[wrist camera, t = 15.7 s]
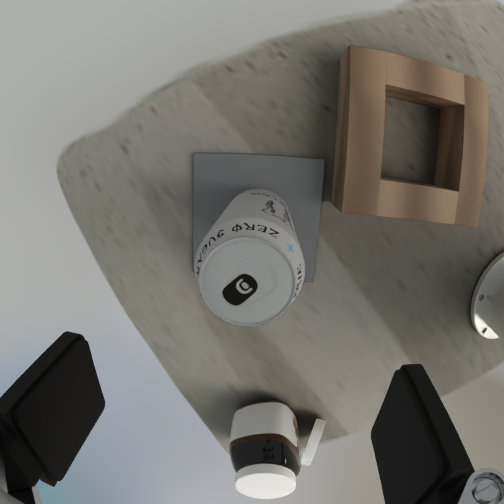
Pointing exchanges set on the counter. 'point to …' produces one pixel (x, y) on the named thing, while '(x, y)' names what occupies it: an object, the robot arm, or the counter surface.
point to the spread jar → (269, 449)
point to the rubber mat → (259, 177)
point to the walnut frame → (372, 134)
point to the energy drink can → (251, 260)
